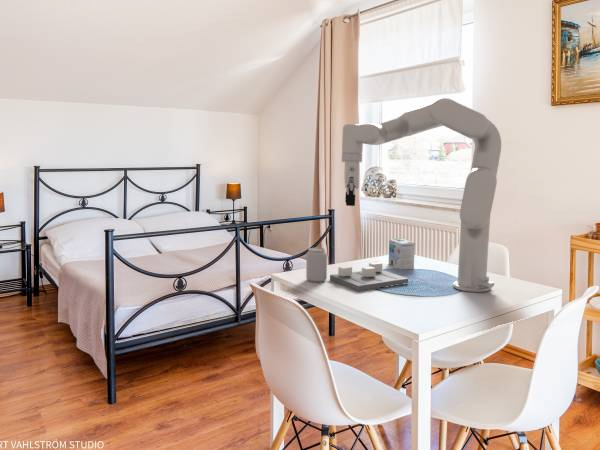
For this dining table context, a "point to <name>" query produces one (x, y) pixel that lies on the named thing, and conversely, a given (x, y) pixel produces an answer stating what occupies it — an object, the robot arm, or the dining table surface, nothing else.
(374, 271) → the handle
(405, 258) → the light bulb box
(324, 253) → the can
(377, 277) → the breaker panel
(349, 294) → the dining table surface
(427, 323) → the dining table surface
